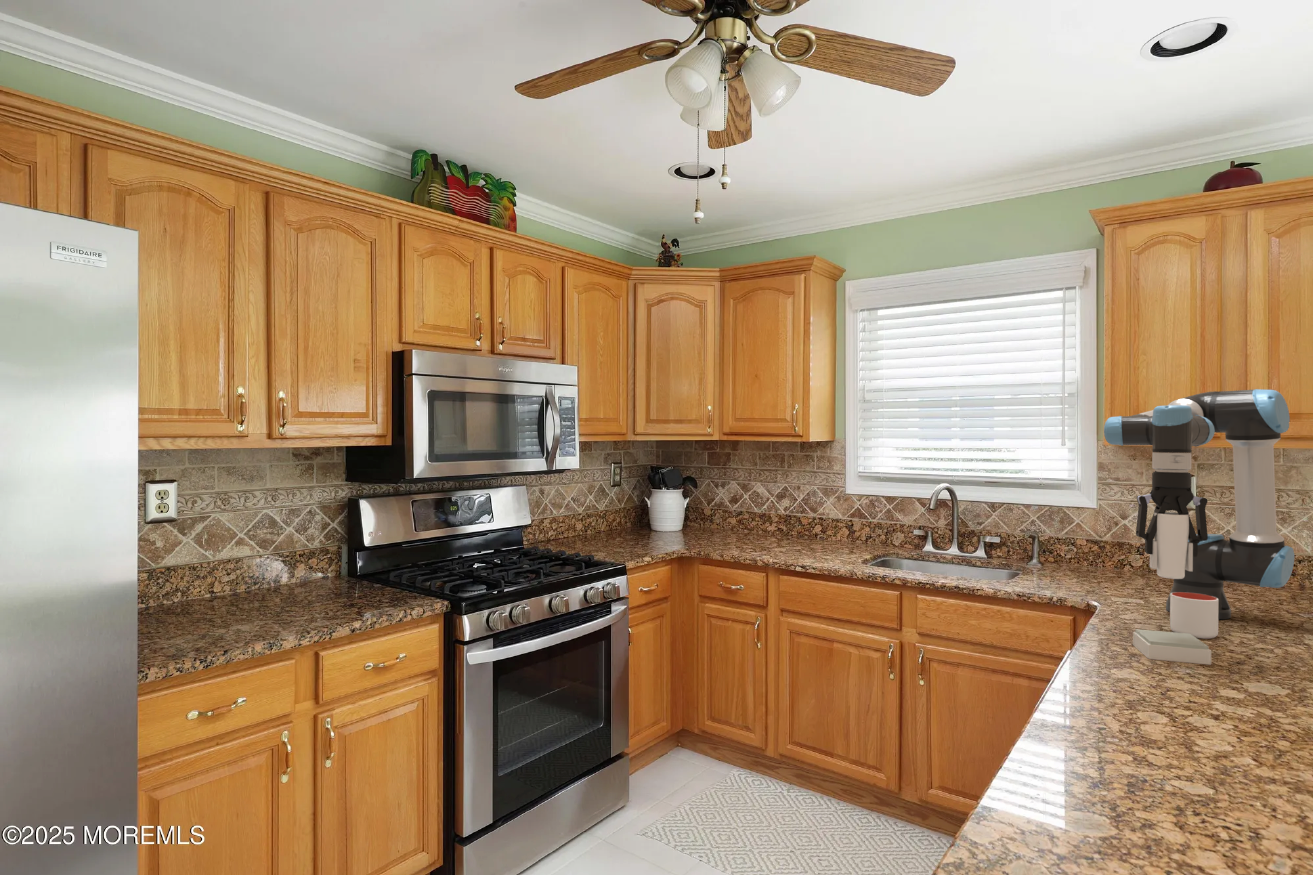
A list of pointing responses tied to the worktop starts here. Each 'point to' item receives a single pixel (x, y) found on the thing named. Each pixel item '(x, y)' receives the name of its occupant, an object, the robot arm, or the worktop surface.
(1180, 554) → the drinking glass
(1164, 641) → the coaster
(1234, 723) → the worktop surface
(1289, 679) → the worktop surface
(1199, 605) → the cup
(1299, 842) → the worktop surface
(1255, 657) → the worktop surface
